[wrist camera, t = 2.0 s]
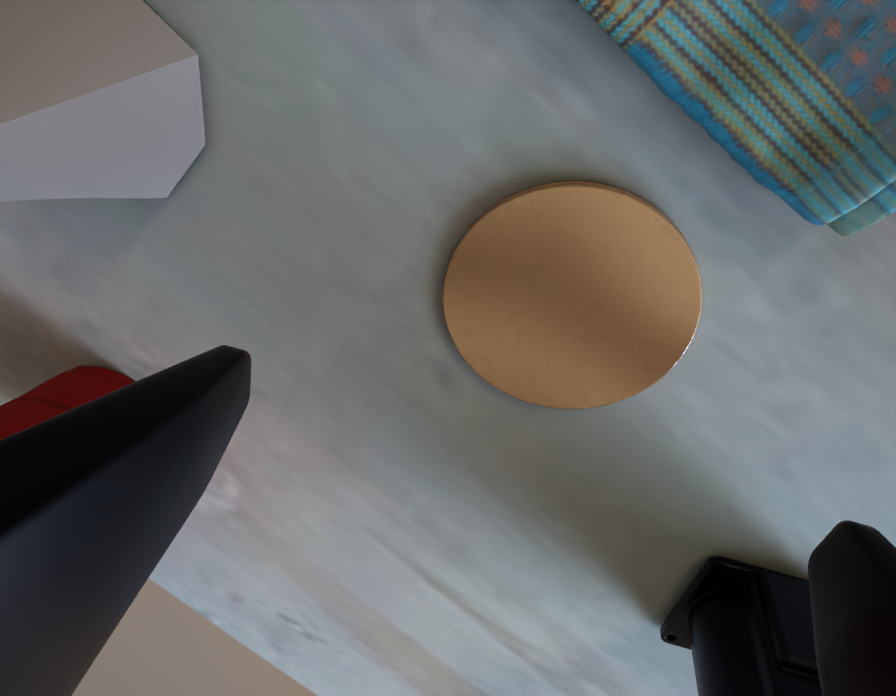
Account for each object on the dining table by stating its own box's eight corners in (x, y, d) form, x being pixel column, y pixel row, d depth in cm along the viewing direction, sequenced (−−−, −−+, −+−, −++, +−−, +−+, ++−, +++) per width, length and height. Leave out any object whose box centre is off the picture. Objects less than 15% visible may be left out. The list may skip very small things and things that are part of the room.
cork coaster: (643, 425, 25) (644, 434, 25) (426, 367, 25) (423, 374, 25) (747, 219, 20) (750, 225, 20) (473, 150, 20) (470, 154, 20)
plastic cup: (146, 521, 35) (-27, 754, 25) (-26, 387, 31) (-307, 599, 21) (268, 445, 30) (111, 702, 20) (79, 276, 26) (-226, 485, 16)
